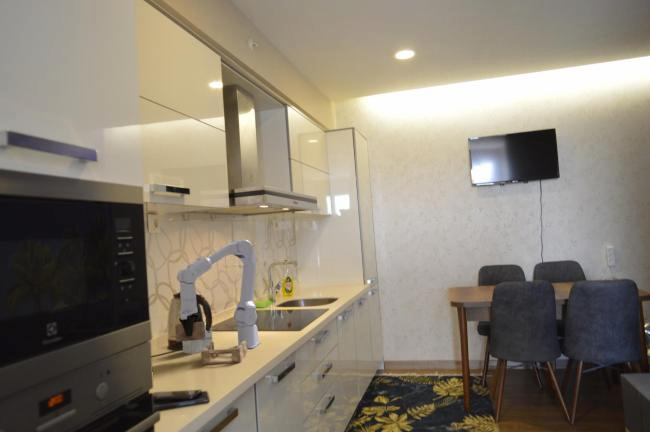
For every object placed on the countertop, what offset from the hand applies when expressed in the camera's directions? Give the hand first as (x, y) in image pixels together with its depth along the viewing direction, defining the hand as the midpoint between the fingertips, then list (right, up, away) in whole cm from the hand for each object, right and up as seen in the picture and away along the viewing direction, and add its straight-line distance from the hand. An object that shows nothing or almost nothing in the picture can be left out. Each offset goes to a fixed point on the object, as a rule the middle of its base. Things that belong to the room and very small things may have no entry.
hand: (191, 334), depth 182 cm
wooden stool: (+14, -8, -4) cm, 17 cm away
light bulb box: (-1, -10, +14) cm, 17 cm away
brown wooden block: (0, -2, 0) cm, 2 cm away
